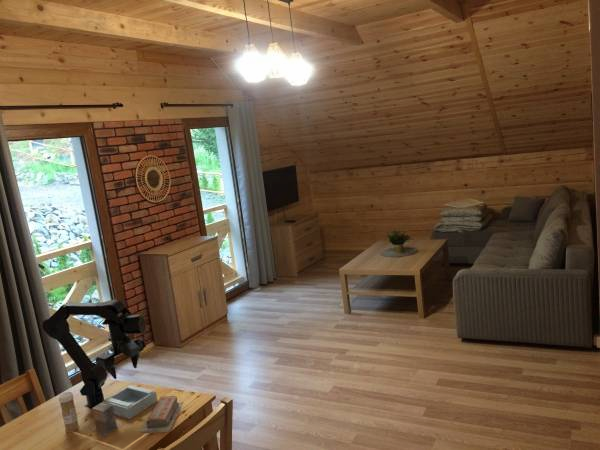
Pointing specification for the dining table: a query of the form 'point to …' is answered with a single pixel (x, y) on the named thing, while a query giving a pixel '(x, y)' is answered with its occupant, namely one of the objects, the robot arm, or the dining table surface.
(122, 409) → the grey open tray
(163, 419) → the packaged product
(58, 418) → the dining table surface
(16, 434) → the dining table surface
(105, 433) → the coaster
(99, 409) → the block
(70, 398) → the sprinkles bottle
